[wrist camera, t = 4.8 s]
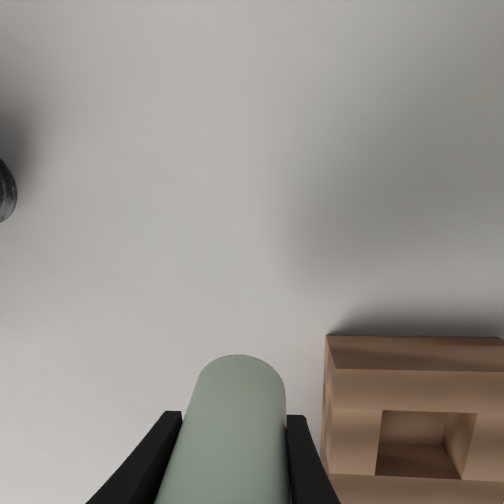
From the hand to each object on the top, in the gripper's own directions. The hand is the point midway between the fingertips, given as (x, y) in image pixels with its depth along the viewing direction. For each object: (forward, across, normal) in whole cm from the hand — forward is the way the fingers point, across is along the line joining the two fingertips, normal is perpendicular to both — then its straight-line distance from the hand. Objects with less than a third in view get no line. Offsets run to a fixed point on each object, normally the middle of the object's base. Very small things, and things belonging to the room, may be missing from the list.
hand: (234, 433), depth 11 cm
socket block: (+10, -11, +8) cm, 17 cm away
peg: (+2, 0, 0) cm, 2 cm away
